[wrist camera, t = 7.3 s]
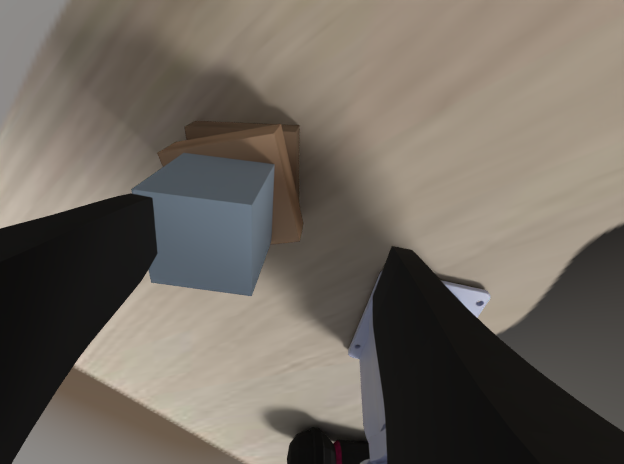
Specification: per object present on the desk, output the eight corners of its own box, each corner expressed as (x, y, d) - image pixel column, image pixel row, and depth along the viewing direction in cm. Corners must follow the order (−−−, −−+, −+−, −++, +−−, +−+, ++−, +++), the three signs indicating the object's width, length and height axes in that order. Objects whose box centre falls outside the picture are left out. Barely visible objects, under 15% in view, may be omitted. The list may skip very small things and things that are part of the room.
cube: (271, 241, 18) (251, 296, 14) (192, 230, 18) (151, 282, 14) (274, 164, 15) (251, 204, 12) (184, 152, 15) (131, 189, 12)
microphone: (460, 420, 37) (289, 413, 34) (492, 468, 31) (290, 464, 29) (449, 457, 38) (283, 453, 36) (477, 510, 32) (284, 509, 30)
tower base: (299, 215, 21) (296, 230, 20) (212, 210, 22) (201, 224, 20) (300, 123, 18) (296, 132, 16) (198, 119, 19) (184, 126, 17)
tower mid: (303, 223, 19) (299, 241, 18) (212, 234, 20) (200, 252, 19) (280, 123, 16) (273, 133, 15) (175, 142, 17) (157, 153, 16)
